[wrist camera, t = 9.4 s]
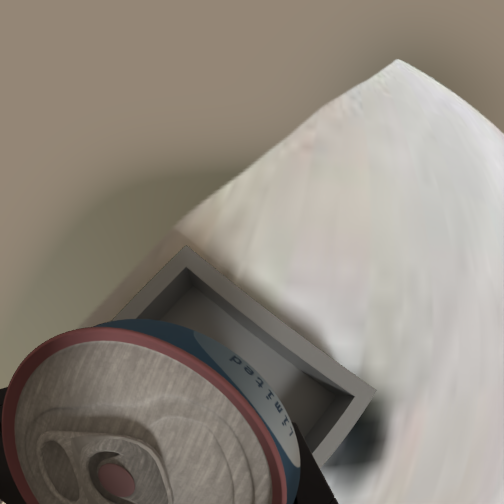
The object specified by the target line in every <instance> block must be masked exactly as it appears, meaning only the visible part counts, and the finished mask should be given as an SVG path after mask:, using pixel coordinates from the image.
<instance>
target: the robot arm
mask: <svg viewBox="0 0 504 504" xmlns="http://www.w3.org/2000/svg"><path fill="white" fill-rule="evenodd" d="M7 388H8V387H6V388H3V389H0V504H2V502H4V503H6V504H26V502H25V501H24V499H23V497H22V496H21V494H20V492H19V490H18V488H17V486H16V484H15V482H14V480H13V477H12V475H11V472H10V469H9V466H8V463H7V460H6V456H5V452H4V446H3V439H2V410H3V404H4V399H5V395H6V392H7ZM291 423H292V425H293V428H294V431H295V434H296V438H297V442H298V447H299V453H300V480H299V485H298V490H297V494H296V497H295V500H294V502H293V504H338V502H337V500H336V498H334V495H333V493H332V491H331V489H330V487H329V485H328V483H327V482H326V480H325V478H324V476H323V474H322V472H321V470H320V468H319V466H318V464H317V462H316V461H315V459H314V457H313V455H312V453H311V451H310V449H309V447H308V445H307V443H306V441H305V439H304V437H303V435H302V433H301V431H300V429H299V427H298V425H297V423H296V422H294V421H291Z"/></svg>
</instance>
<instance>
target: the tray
mask: <svg viewBox="0 0 504 504" xmlns="http://www.w3.org/2000/svg"><path fill="white" fill-rule="evenodd" d="M124 319H151V320H159V321H164V322H169V323H173V324H177V325H180V326H184V327H186V328H189V329H192V330H195V331H197V332H199V333H201V334H204V335H206V336H208V337H210V338H212V339H214V340H216V341H217V342H219V343H221V344H222V345H224V346H226V347H227V348H229V349H230V350H231V351H233V352H234V353H236V354H237V355H238V356H240V357H241V358H242V359H243V360H245V361H246V362H247V363H248V364H249V365H250V366H252V367H253V368H254V369H255V370H256V371H257V372H258V373H259V374H260V375H261V376H262V377H263V379H264V380H265V381H266V382H267V383H268V385H269V386H270V387H271V388H272V389H273V391H274V392H275V394H276V395H277V397H278V398H279V400H280V401H281V403H282V405H283V406H284V408H285V410H286V412H287V414H288V416H289V418H290V420H291V421H294V422H296V423H297V425H298V427H299V429H300V431H301V433H302V435H303V437H304V439H305V441H306V443H307V445H308V447H309V449H310V451H311V453H312V455H313V457H314V459H315V461H316V462H317V464H318V466H319V468H321V467H322V466H323V465H324V463H325V462H326V461H327V460H328V459H329V457H330V456H331V455H332V454H333V452H334V451H335V450H336V449H337V447H338V446H339V445H340V444H341V442H342V441H343V440H344V438H345V437H346V436H347V434H348V433H349V431H350V430H351V429H352V427H353V426H354V425H355V423H356V422H357V420H358V419H359V417H360V416H361V414H362V413H363V411H364V410H365V408H366V407H367V405H368V404H369V402H370V401H371V399H372V398H373V396H374V394H375V393H376V391H377V390H376V389H374V388H373V387H372V386H370V385H369V384H367V383H366V382H364V381H363V380H362V379H360V378H359V377H357V376H356V375H354V374H353V373H352V372H350V371H349V370H347V369H346V368H345V367H343V366H342V365H340V364H339V363H338V362H336V361H335V360H334V359H332V358H331V357H329V356H328V355H327V354H325V353H324V352H323V351H321V350H320V349H318V348H317V347H316V346H314V345H313V344H312V343H310V342H309V341H308V340H306V339H305V338H304V337H302V336H301V335H300V334H298V333H297V332H296V331H294V330H293V329H292V328H290V327H289V326H288V325H286V324H285V323H284V322H282V321H281V320H280V319H279V318H277V317H276V316H275V315H273V314H272V313H271V312H269V311H268V310H267V309H265V308H264V307H263V306H262V305H260V304H259V303H258V302H256V301H255V300H254V299H253V298H251V297H250V296H249V295H248V294H246V293H245V292H244V291H242V290H241V289H240V288H239V287H237V286H236V285H235V284H234V283H232V282H231V281H230V280H229V279H227V278H226V277H225V276H224V275H222V274H221V273H220V272H219V271H217V270H216V269H215V268H214V267H212V266H211V265H210V264H209V263H208V262H206V261H205V260H204V259H203V258H201V257H200V256H199V255H198V254H197V253H195V252H194V251H193V250H192V249H191V248H189V247H188V246H187V245H186V246H185V247H184V248H182V249H181V250H180V251H179V252H178V253H177V254H176V255H175V256H174V257H173V258H172V259H171V260H170V261H169V262H168V263H167V264H166V265H165V266H164V267H163V268H162V269H161V270H160V271H159V272H158V273H157V274H156V275H155V276H154V277H153V278H152V279H151V280H150V281H149V282H148V283H147V284H146V285H145V286H144V287H143V288H142V289H141V290H140V291H139V292H138V294H137V295H136V296H135V297H134V298H133V299H132V300H131V301H130V302H129V303H128V304H127V305H126V306H125V307H124V308H123V309H122V310H121V311H120V312H119V313H118V315H117V316H116V317H115V318H114V319H113V320H112V321H116V320H124Z"/></svg>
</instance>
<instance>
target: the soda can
mask: <svg viewBox="0 0 504 504" xmlns="http://www.w3.org/2000/svg"><path fill="white" fill-rule="evenodd" d="M2 439H3V446H4V452H5V456H6V460H7V463H8V466H9V469H10V472H11V475H12V477H13V480H14V482H15V484H16V486H17V488H18V490H19V492H20V494H21V496H22V497H23V499H24V501H25V502H26V504H293V502H294V500H295V497H296V494H297V490H298V485H299V480H300V453H299V447H298V442H297V438H296V434H295V431H294V428H293V425H292V423H291V420H290V418H289V416H288V414H287V412H286V410H285V408H284V406H283V405H282V403H281V401H280V400H279V398H278V397H277V395H276V394H275V392H274V391H273V389H272V388H271V387H270V386H269V385H268V383H267V382H266V381H265V380H264V379H263V377H262V376H261V375H260V374H259V373H258V372H257V371H256V370H255V369H254V368H253V367H252V366H250V365H249V364H248V363H247V362H246V361H245V360H243V359H242V358H241V357H240V356H238V355H237V354H236V353H234V352H233V351H231V350H230V349H229V348H227V347H226V346H224V345H222V344H221V343H219V342H217V341H216V340H214V339H212V338H210V337H208V336H206V335H204V334H201V333H199V332H197V331H195V330H192V329H189V328H186V327H184V326H180V325H177V324H173V323H169V322H164V321H159V320H151V319H124V320H116V321H111V322H106V323H103V324H99V325H96V326H93V327H89V328H82V329H76V330H72V331H68V332H65V333H62V334H60V335H57V336H55V337H53V338H51V339H49V340H47V341H45V342H44V343H42V344H41V345H39V346H38V347H37V348H35V349H34V350H33V351H32V352H31V353H30V354H29V355H28V356H27V357H26V358H25V359H24V360H23V361H22V363H21V364H20V366H19V367H18V368H17V370H16V372H15V373H14V375H13V377H12V379H11V381H10V384H9V386H8V388H7V392H6V395H5V399H4V404H3V410H2Z"/></svg>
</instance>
